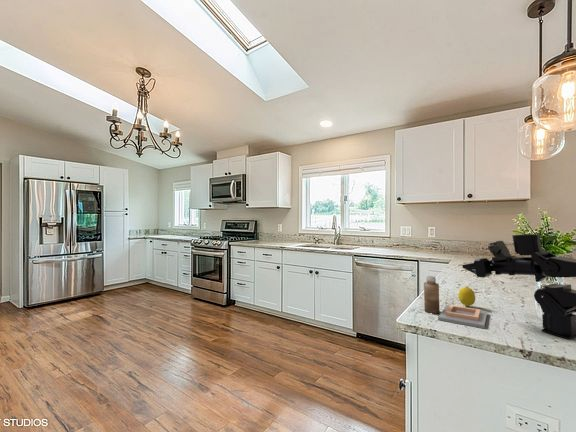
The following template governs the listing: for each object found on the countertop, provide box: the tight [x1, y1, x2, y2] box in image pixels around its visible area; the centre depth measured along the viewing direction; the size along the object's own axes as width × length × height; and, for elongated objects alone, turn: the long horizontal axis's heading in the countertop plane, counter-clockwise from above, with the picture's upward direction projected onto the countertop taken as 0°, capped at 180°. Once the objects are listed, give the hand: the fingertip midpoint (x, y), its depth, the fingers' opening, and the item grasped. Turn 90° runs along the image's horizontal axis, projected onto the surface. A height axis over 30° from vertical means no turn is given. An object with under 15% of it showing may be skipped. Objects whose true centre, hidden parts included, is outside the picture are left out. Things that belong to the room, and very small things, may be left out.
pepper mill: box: [423, 275, 441, 315], centre depth 104 cm, size 5×5×13 cm
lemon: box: [458, 286, 476, 308], centre depth 108 cm, size 6×6×8 cm
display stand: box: [437, 304, 488, 329], centre depth 97 cm, size 13×16×2 cm
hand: (470, 265), depth 105 cm, fingers open, 9 cm apart
